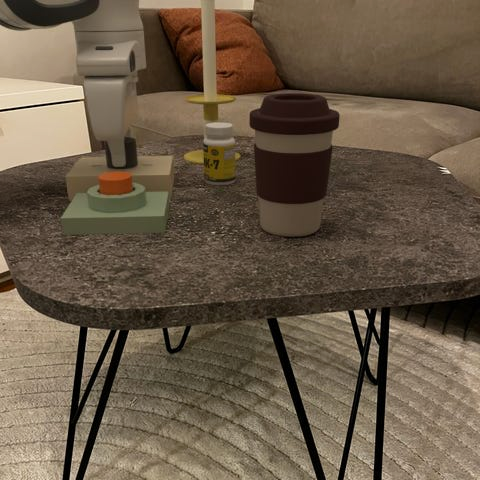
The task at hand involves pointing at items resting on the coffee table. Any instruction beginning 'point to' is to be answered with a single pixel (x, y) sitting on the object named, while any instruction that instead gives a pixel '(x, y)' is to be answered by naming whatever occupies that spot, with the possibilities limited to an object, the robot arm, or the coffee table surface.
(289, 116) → the coffee cup
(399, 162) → the coffee table surface
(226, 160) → the supplement bottle
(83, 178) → the panel
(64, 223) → the button housing
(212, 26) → the candle
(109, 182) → the power button
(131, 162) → the knob
